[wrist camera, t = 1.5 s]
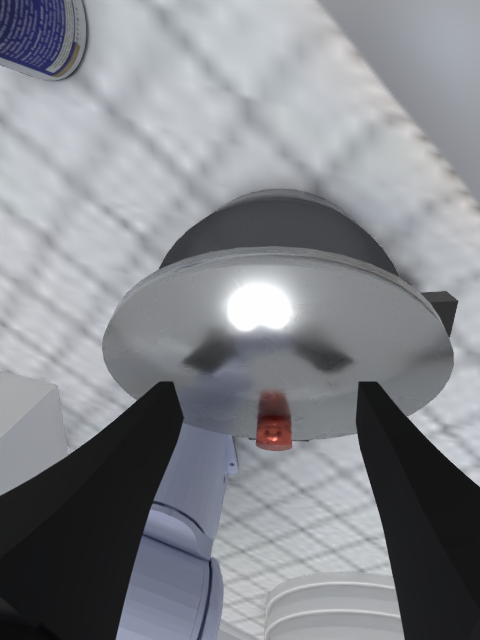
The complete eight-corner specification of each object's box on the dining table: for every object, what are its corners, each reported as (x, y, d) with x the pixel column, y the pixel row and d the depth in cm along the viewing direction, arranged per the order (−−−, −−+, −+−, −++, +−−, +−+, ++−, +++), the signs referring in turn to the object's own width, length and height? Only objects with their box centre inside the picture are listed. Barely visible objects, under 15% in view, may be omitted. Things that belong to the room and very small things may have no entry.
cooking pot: (399, 380, 22) (432, 445, 17) (179, 381, 26) (152, 436, 21) (431, 168, 16) (499, 171, 11) (130, 206, 19) (73, 222, 14)
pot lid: (395, 432, 17) (404, 469, 16) (177, 426, 20) (170, 458, 19) (535, 220, 7) (594, 281, 5) (28, 266, 9) (-11, 315, 8)
